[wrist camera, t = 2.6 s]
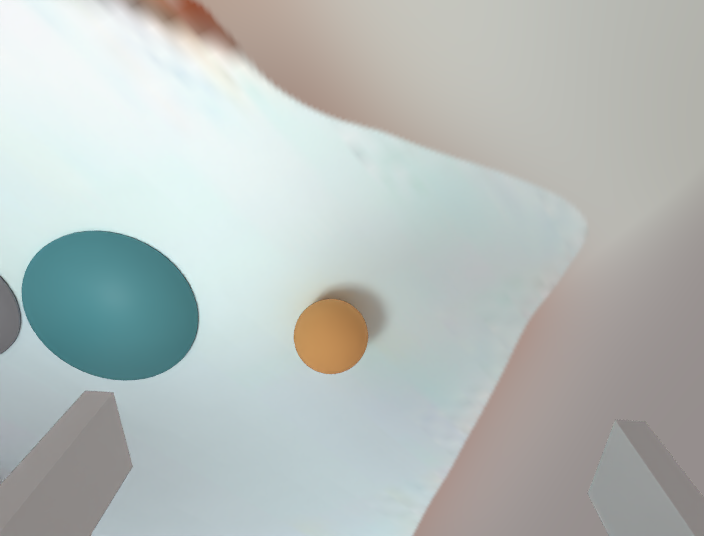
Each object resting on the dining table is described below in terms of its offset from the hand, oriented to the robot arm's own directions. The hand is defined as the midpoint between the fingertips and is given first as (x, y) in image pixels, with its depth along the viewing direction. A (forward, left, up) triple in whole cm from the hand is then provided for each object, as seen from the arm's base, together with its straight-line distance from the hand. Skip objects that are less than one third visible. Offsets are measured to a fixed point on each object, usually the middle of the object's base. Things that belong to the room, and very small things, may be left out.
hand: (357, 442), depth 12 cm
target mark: (-8, +17, -21) cm, 29 cm away
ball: (-8, 0, -19) cm, 20 cm away
